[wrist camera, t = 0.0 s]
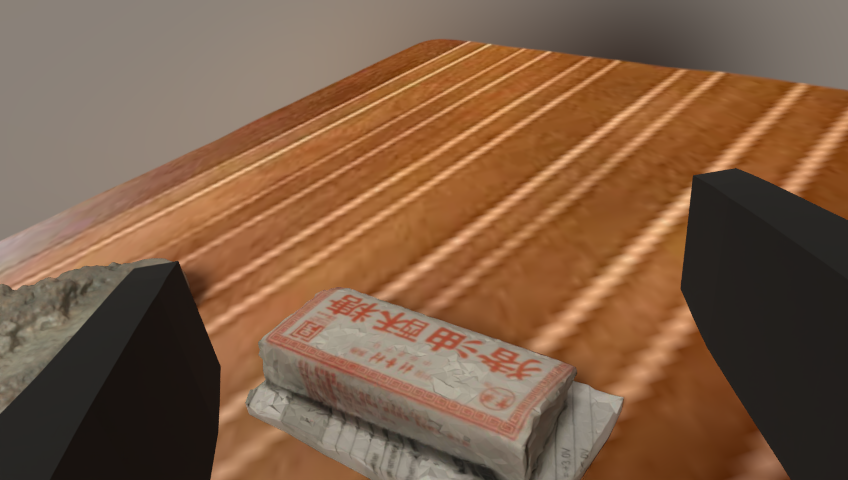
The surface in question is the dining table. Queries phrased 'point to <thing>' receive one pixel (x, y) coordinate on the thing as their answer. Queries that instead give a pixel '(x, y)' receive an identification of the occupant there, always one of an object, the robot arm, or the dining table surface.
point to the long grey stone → (50, 319)
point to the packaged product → (425, 396)
